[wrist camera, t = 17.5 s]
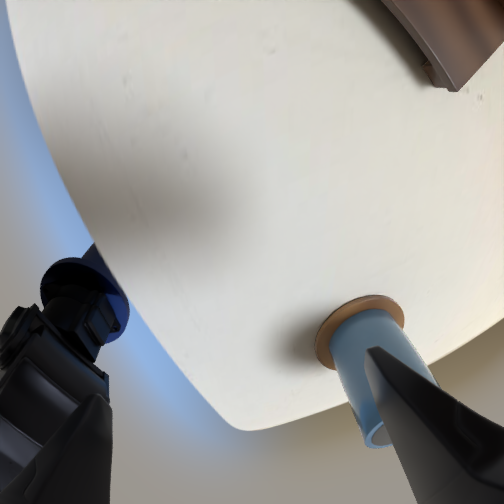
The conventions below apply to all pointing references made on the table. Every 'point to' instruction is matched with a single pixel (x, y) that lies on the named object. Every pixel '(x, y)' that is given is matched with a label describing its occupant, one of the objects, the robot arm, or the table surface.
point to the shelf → (452, 35)
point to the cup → (353, 373)
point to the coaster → (347, 312)
